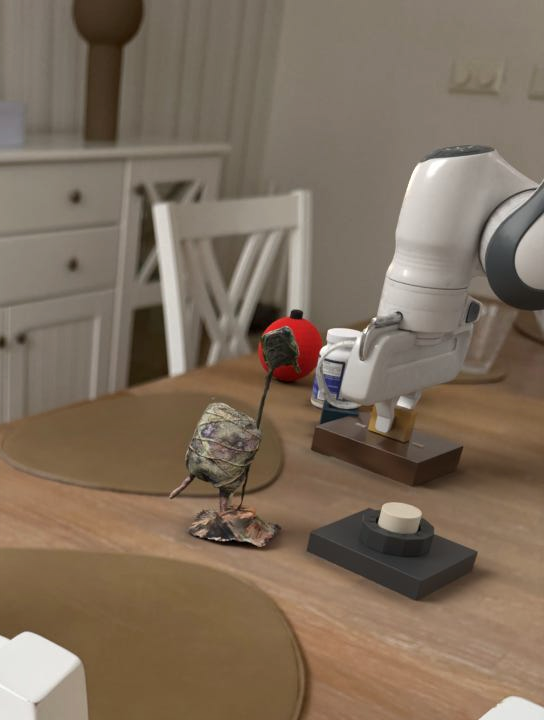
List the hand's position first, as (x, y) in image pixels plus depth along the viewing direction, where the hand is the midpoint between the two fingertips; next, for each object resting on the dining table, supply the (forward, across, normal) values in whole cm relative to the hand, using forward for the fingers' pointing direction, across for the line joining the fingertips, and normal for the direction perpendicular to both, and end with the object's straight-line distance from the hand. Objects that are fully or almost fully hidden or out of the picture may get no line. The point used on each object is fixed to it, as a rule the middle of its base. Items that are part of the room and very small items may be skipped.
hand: (390, 428), depth 115 cm
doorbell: (+4, -24, -16) cm, 29 cm away
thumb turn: (+1, 0, 0) cm, 1 cm away
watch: (+4, +4, +10) cm, 11 cm away
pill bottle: (+4, +12, +16) cm, 20 cm away
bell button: (0, -24, -16) cm, 29 cm away
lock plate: (+4, 0, 0) cm, 4 cm away
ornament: (+4, +16, +27) cm, 32 cm away
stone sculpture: (+4, -32, -2) cm, 32 cm away
